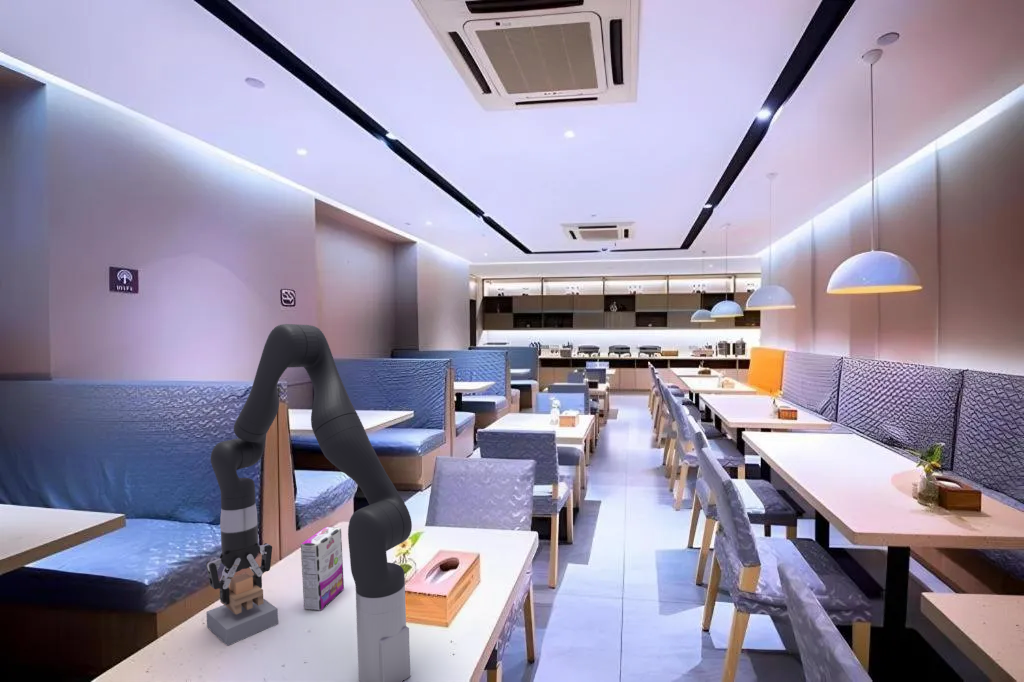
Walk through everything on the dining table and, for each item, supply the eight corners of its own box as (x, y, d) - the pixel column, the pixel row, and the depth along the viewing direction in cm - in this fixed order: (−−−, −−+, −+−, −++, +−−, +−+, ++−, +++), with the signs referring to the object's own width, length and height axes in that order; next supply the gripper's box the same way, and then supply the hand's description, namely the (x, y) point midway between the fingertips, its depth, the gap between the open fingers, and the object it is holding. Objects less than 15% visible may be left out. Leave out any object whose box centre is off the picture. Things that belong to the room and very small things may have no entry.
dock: (278, 623, 120) (277, 608, 120) (227, 645, 112) (226, 629, 112) (256, 607, 128) (255, 592, 128) (207, 626, 120) (206, 611, 120)
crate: (253, 588, 120) (252, 577, 120) (236, 594, 117) (236, 583, 117) (245, 583, 122) (245, 572, 122) (229, 589, 120) (229, 578, 120)
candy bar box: (327, 588, 137) (325, 526, 137) (344, 589, 136) (342, 526, 136) (301, 610, 126) (299, 542, 126) (320, 611, 125) (318, 543, 125)
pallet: (263, 603, 119) (263, 589, 119) (235, 614, 114) (235, 600, 114) (247, 591, 125) (246, 578, 125) (220, 601, 120) (219, 588, 120)
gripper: (211, 538, 112) (213, 616, 112) (277, 519, 123) (280, 590, 123) (198, 530, 117) (201, 605, 117) (264, 513, 127) (266, 581, 128)
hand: (241, 597), depth 120 cm, fingers closed on pallet, 6 cm apart
